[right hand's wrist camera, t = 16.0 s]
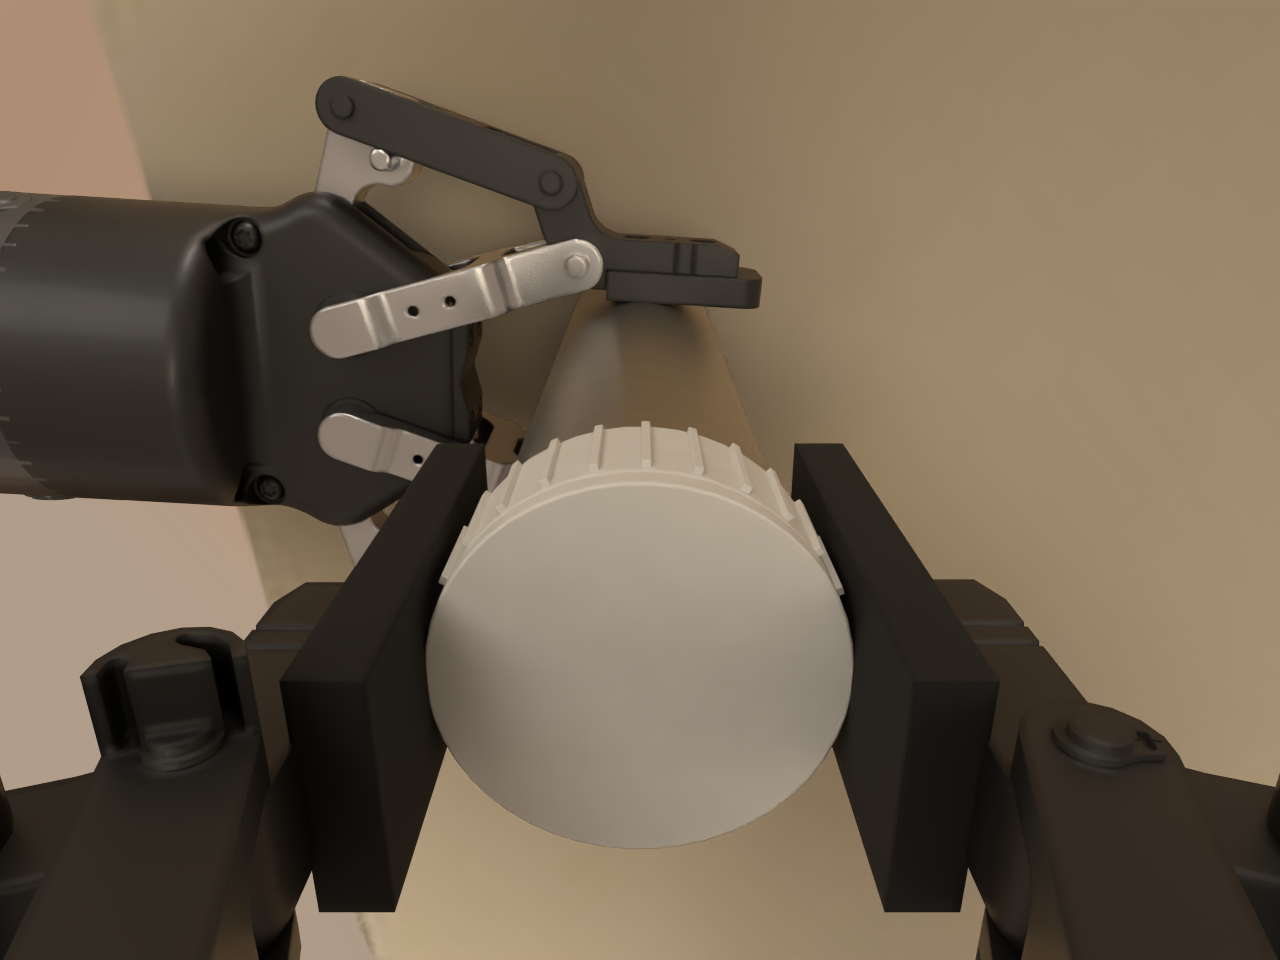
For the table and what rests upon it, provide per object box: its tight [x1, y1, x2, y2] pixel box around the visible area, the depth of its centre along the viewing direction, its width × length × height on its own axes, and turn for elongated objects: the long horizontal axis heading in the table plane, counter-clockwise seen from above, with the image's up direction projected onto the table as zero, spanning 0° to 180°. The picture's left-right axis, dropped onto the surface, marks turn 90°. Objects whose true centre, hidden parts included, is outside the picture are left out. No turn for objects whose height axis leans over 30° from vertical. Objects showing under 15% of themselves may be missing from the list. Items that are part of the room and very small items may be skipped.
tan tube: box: [516, 289, 767, 471], centre depth 20 cm, size 4×4×19 cm
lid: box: [425, 421, 854, 849], centre depth 11 cm, size 5×5×2 cm
